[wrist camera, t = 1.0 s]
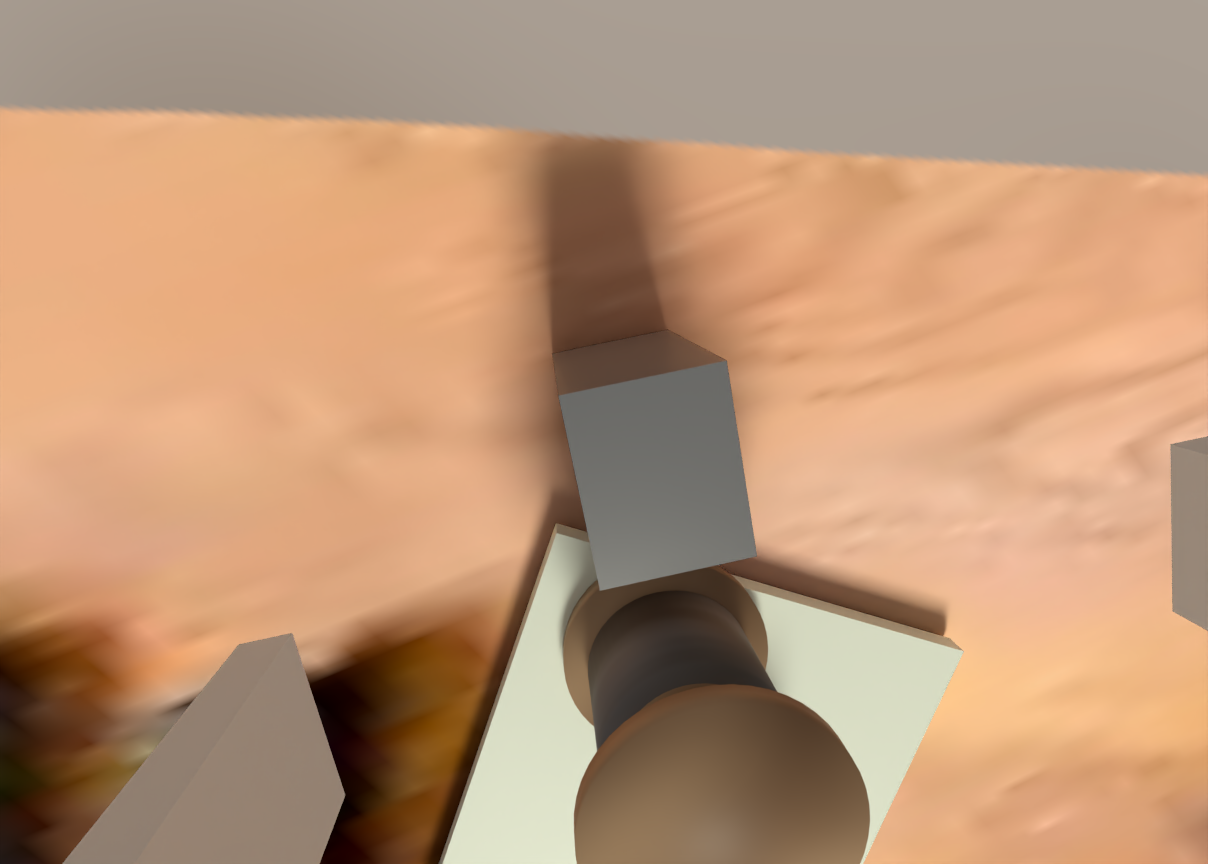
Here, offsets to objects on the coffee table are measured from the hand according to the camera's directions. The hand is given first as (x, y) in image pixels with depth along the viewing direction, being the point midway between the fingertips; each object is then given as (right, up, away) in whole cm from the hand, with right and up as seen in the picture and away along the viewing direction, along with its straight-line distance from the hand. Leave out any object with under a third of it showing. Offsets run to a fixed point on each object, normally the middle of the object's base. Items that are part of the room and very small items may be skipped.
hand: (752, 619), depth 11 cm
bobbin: (0, -5, +16) cm, 17 cm away
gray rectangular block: (-2, +3, +15) cm, 15 cm away
